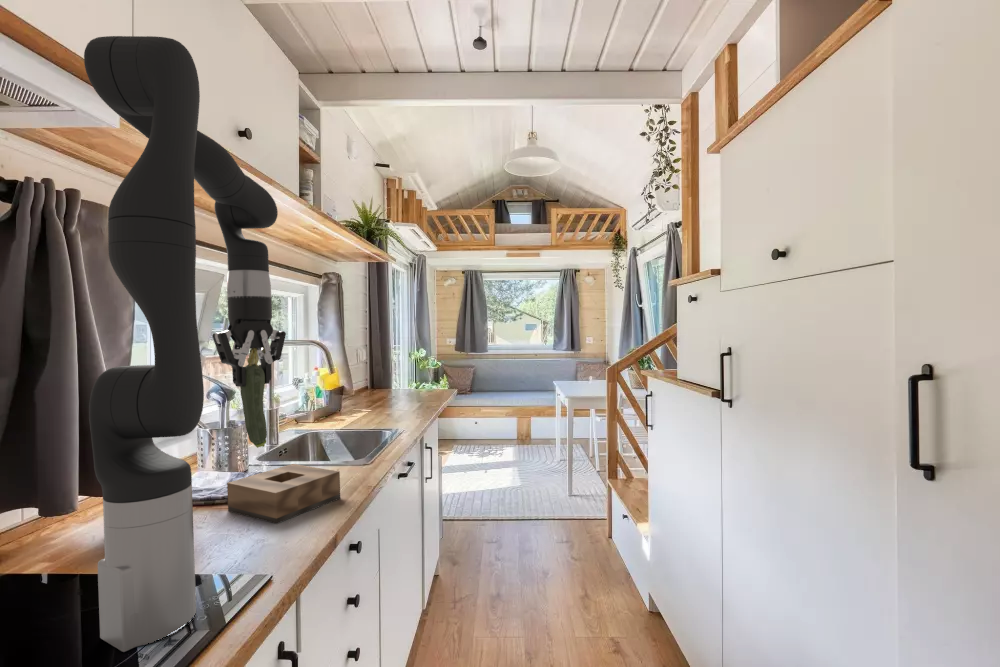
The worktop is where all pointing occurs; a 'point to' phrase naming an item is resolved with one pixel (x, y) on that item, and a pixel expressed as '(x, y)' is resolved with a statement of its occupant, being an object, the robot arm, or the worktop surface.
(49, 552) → the worktop surface
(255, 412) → the vegetable
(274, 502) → the socket block
